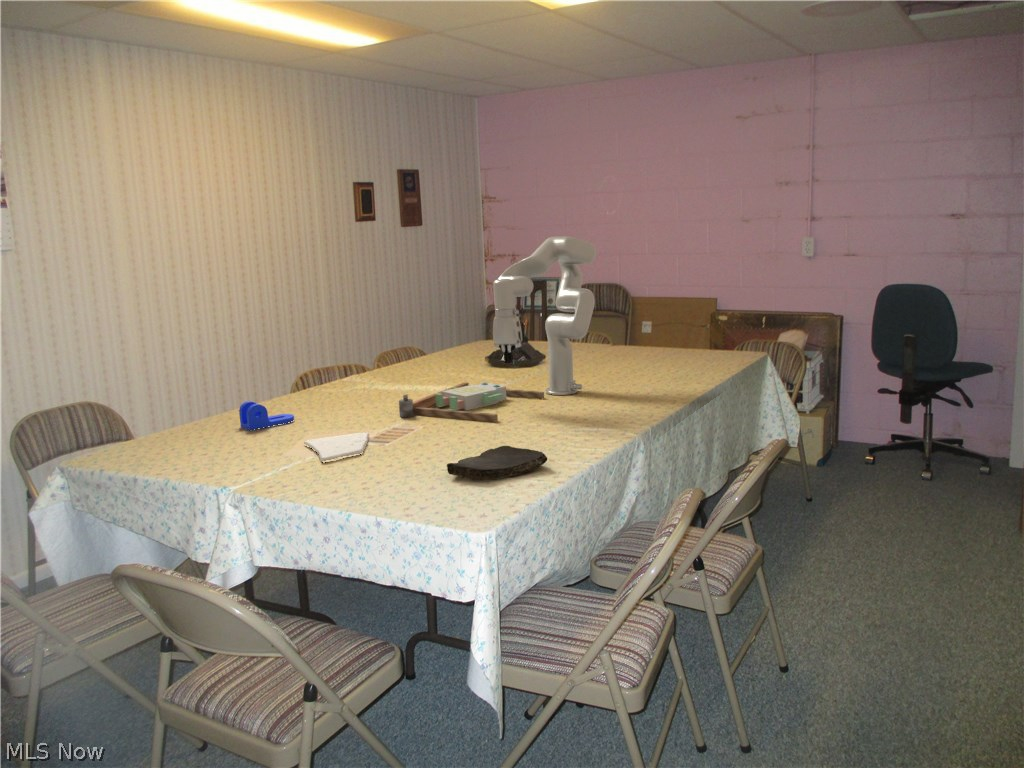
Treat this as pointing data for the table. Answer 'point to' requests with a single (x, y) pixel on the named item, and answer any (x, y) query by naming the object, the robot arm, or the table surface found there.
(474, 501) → the table surface
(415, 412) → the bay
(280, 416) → the bracket
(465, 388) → the decorative block
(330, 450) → the flat white fragment
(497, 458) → the stone slab
